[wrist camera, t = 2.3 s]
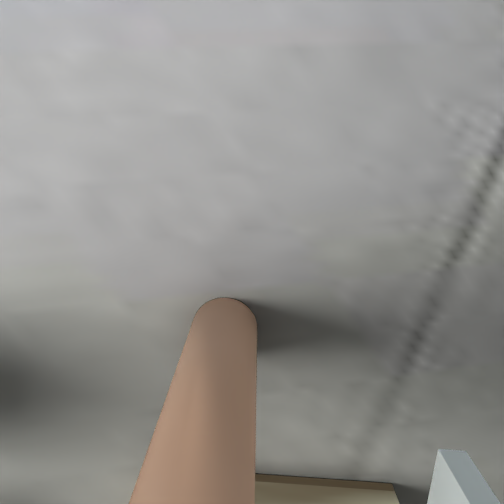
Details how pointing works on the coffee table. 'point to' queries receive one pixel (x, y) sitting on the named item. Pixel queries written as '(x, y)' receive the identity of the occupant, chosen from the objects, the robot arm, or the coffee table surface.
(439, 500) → the robot arm
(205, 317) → the pin
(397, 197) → the coffee table surface
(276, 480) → the bore block
